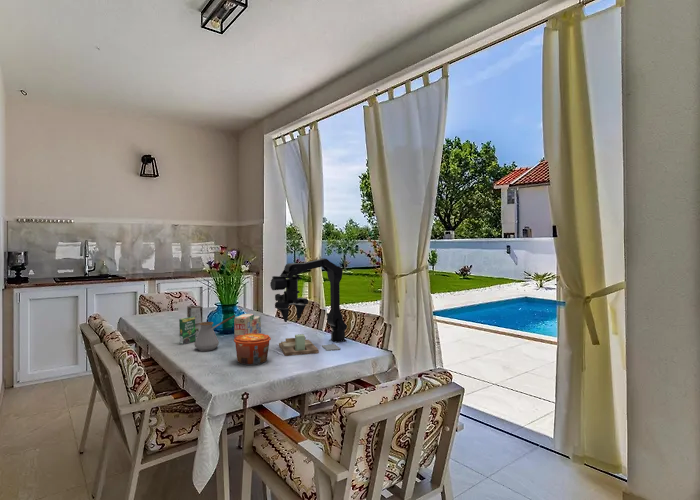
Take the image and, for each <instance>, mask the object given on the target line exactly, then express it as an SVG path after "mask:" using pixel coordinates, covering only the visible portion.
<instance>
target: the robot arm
mask: <svg viewBox="0 0 700 500" xmlns="http://www.w3.org/2000/svg"><path fill="white" fill-rule="evenodd" d="M317 268H318V269H319V268H322V269H323V270H324V271H325V272H326V274H327V278H328V281H329V285H330V287H329V288H330V291H329V292H330V311H329V312H326V321H327V324H328V325H329V327H330V328H331V332H330V339H331V340H332V341H333V342H335V343H337V342H338V341H340V342H347V340H346V330H347V329H348V324H347V323H346V322H345V321H344V318H343V314H342V312H341V307H340V306H341V304H340V303H341V301H340V300H341V298H340V296H341V295H340V293H341V292H340V290H341V289H340V288H341V287H340V286H341V285H340V283H341V282H342V278H343V268H342V267H341V266H339V265H337V264H335V263H333V262H332V261H330V260H329V259H328V258H325V257H324V258H323V257H322V258H318V259H315V260H311V261H306V262H301V263H300V262H298V263H297V262H296V263H295V262H293V263H292V262H291V263H290V262H289V263H287V264H285V266H284V268H283V271H282V272H281V273H280V275H279V276H277V275H273V276H271V277H272V278H271V280H270V284H269V286H270V289H271V290H272V291H282V290H283V291H284V292H283V294H280V293H277V294H274V300H275V303H274V309H277V310H278V311H280V313H281V315H282V318H283V321H284V323H287V322H288V318H289V314H290V313H289V312H290V308H289V307H290V306H294V307H295V309H296V310H295V311H296V319H297V320H299V319H300V318H301V316H302V314H303V312H304V310H305V308H306V306H307V305H308V304H309V299H308V298H306V297H298V295H299V294H300V292H301V291H300V290H299V286H298V280H299V281H300V280H302V277H301V276H300V274H302V273H304V272H305V271H309V270H314V269H317Z"/></svg>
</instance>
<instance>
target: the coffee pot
mask: <svg viewBox="0 0 700 500" xmlns="http://www.w3.org/2000/svg"><path fill="white" fill-rule="evenodd" d="M236 317H237V316H236V315H232V316H230V317H228V318H226V319H224V320H222V321H221V322H219V323H218V324H215V325H214V322H213V321H202V323H200V325H201V329H200V331H199V334H198V336H197V337H196V341H195V342H193V343H194V348H196V349H197V350H198V351H200V352H208V351H213V350H215V349H216V348H217V347H218V345H219V344H220V342H219V339H218V337H217V335H216V332H215V331H214V329H215V328H217V327H218V326H222V325H223V324H225V323H227V322H228V321H230V320H231V319H233V318H235V319H236Z"/></svg>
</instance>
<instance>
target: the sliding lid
mask: <svg viewBox="0 0 700 500" xmlns="http://www.w3.org/2000/svg"><path fill="white" fill-rule="evenodd" d="M306 338H307V337H306V336H305V346H312V343H313V342H312V341H311V340H309V339H306ZM310 341H311V342H312V343H311V342H310ZM280 343H281V344H282V345H283V347H284V348H286V347H295V337H287V338H285V341H281V342H280Z"/></svg>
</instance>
